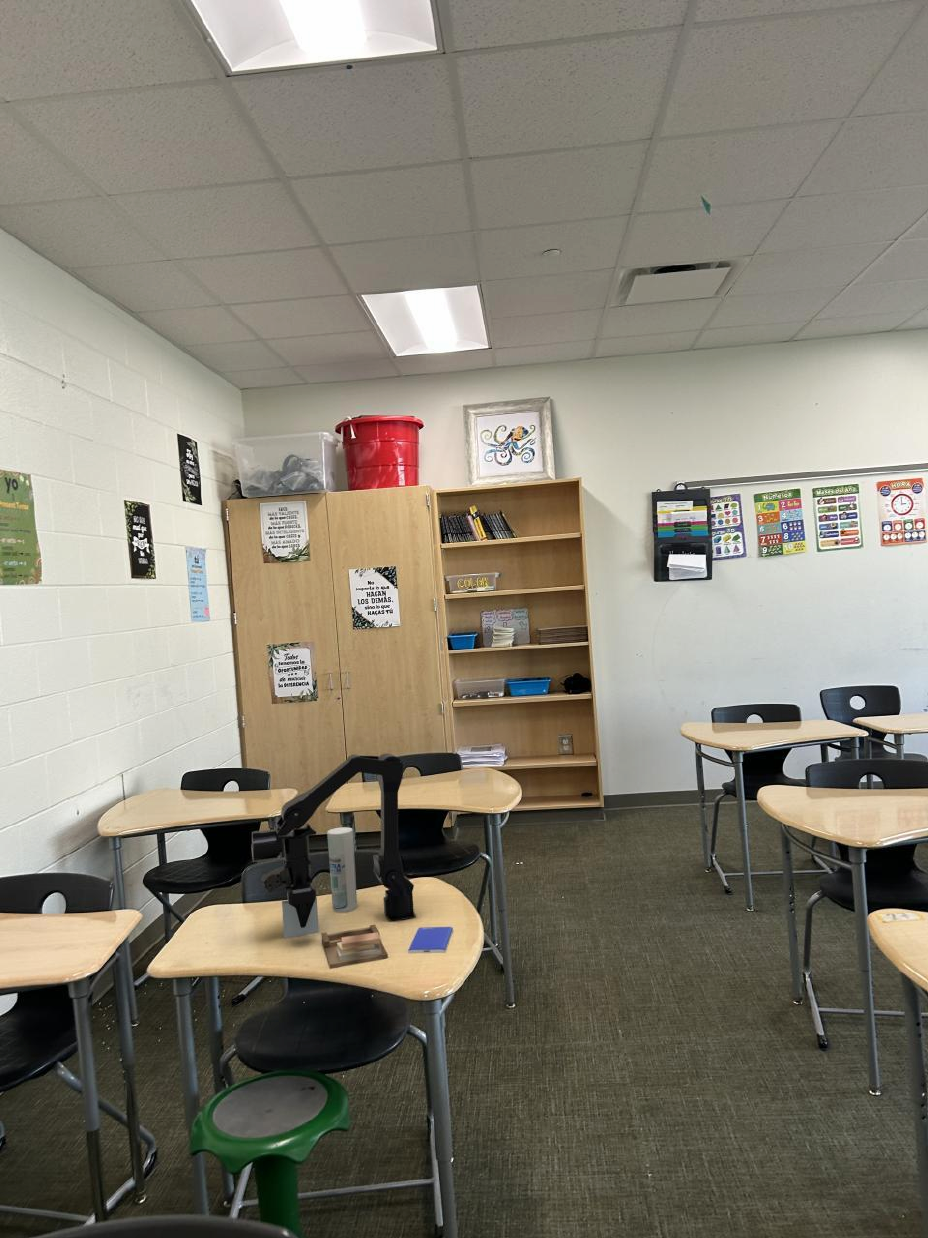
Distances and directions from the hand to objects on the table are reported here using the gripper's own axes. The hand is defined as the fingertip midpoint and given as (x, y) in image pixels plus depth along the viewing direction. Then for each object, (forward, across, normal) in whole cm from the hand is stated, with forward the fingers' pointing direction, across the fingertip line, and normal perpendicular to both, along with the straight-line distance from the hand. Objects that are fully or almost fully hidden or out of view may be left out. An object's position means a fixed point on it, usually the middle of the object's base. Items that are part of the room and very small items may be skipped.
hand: (301, 921), depth 192 cm
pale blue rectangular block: (+3, 0, 0) cm, 3 cm away
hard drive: (+4, +19, +27) cm, 33 cm away
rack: (+3, +16, +10) cm, 19 cm away
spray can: (+3, -13, +12) cm, 18 cm away
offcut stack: (+3, +20, +10) cm, 23 cm away
